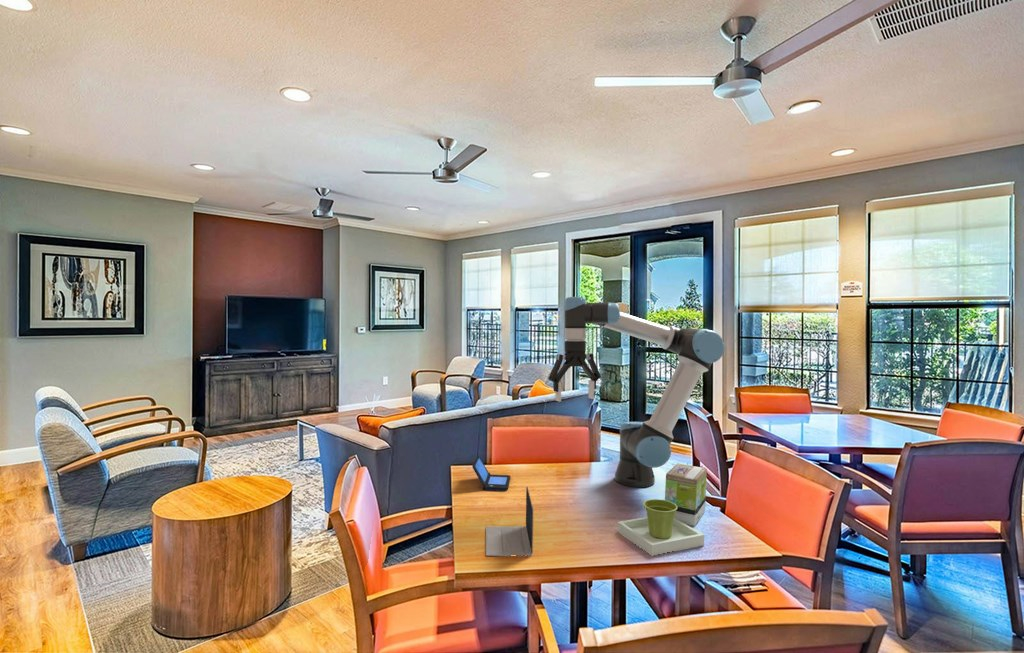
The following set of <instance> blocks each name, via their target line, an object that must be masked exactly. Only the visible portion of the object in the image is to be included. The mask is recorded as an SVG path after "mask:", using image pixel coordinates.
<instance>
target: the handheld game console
mask: <svg viewBox="0 0 1024 653" xmlns="http://www.w3.org/2000/svg"><path fill="white" fill-rule="evenodd" d="M472 469H473V471H474V473H475V474H476V476H477V478H478V480H479V481H480V483H481V485H482V490H483V491H498V492H499V491H500V492H501V491H502V492H506V491H508V490H509V487H510V483H511V475H508V474H491V472H489V470H488V469H487V467H486V466H485V464H484V462H483V460H482V458H481V456H480V455H476V458H475V459H474V461H473V462H472Z"/></svg>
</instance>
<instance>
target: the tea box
mask: <svg viewBox="0 0 1024 653" xmlns="http://www.w3.org/2000/svg"><path fill="white" fill-rule="evenodd" d="M707 474H708V473H707V468H706V467H700V466H693V465H689V464H683V463H679V462H678V463H676V464H675V465H674V466H673V467H672V468H671V469H670V470H669V471H668V472H666V474H665V490H664V500H666V501H670V502H672V503H674V504H676V505H677V507H678V508H677V510H676V512H675V515H674V518H675V519H677V520H679V521H681V522H682V523H684V524H686V525H688V526H693V527H694V526H696V525H697V523H698V522H699V520H700V519H701V518H702V516H703V515H704V512H706V502H707V501H706V500H707V499H706V498H707V497H706V495H707Z"/></svg>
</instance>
